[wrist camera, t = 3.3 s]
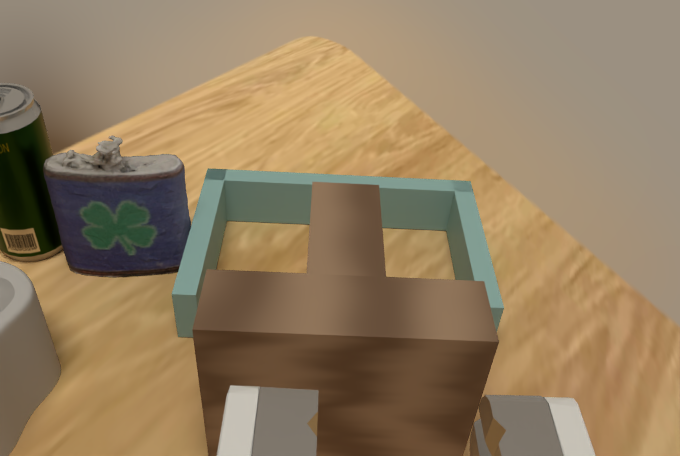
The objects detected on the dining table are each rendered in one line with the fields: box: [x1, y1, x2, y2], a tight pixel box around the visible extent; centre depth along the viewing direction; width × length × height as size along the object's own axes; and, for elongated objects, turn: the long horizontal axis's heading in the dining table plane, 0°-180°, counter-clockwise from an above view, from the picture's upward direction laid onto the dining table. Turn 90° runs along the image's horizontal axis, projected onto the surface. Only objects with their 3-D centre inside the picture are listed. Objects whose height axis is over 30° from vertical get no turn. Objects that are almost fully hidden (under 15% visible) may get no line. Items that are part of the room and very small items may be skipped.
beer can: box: [0, 83, 63, 262], centre depth 46 cm, size 5×5×12 cm
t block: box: [192, 182, 499, 456], centre depth 38 cm, size 14×12×11 cm
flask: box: [43, 136, 191, 277], centre depth 45 cm, size 9×3×11 cm, turn 94°
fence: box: [172, 169, 504, 337], centre depth 48 cm, size 21×14×4 cm, turn 90°
